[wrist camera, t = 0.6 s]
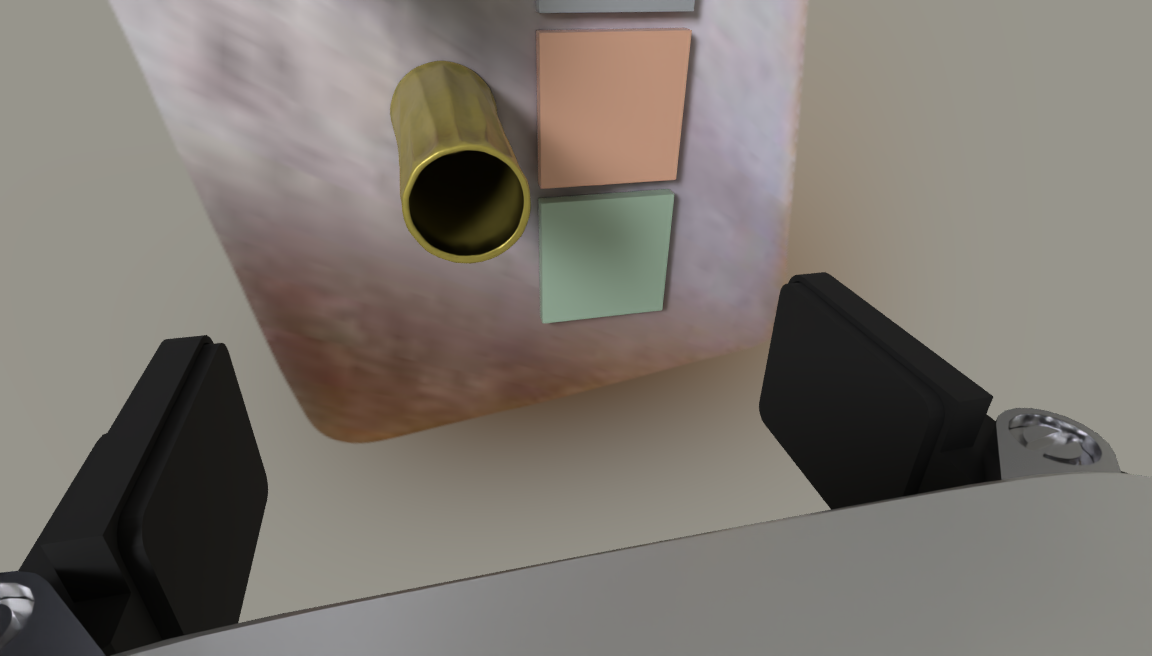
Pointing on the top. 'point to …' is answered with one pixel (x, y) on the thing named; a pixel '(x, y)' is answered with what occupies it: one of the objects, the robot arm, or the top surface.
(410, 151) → the vase
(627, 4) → the grey coaster
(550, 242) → the green coaster
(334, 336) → the top surface
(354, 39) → the top surface
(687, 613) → the robot arm
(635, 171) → the terracotta coaster
